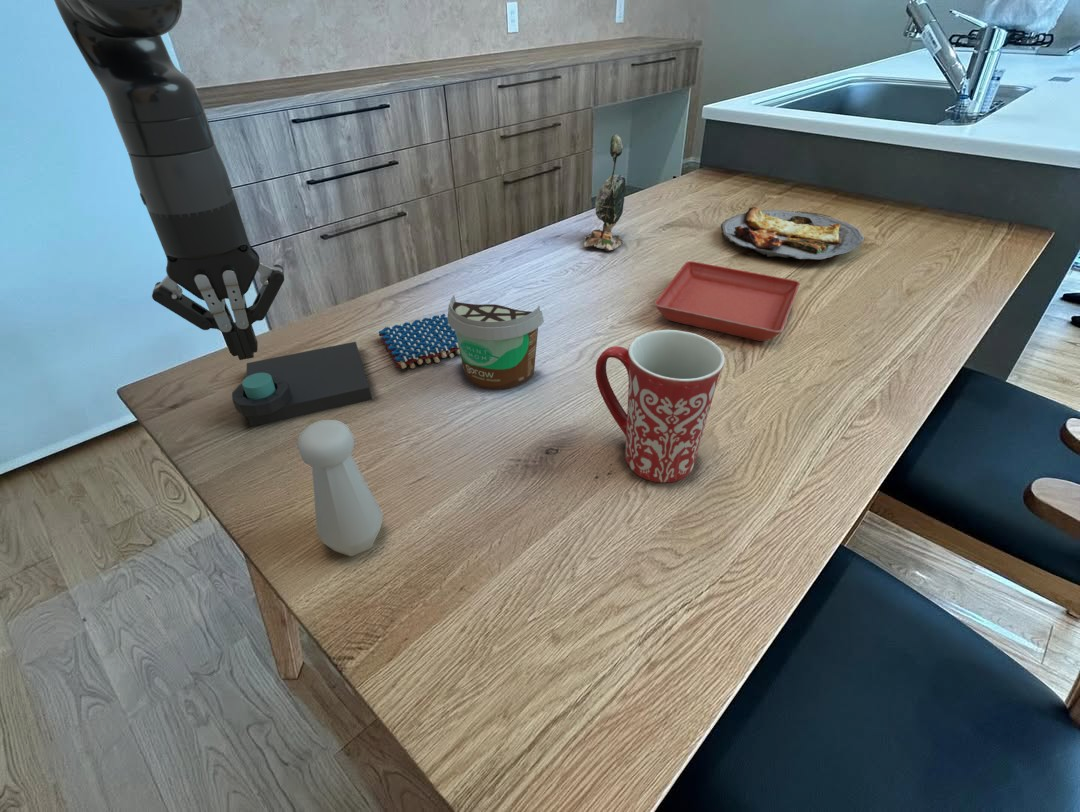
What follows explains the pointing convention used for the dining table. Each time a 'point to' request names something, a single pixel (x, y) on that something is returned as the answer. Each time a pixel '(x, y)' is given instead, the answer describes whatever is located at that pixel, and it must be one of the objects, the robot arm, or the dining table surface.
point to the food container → (495, 343)
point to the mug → (663, 399)
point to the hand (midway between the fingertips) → (246, 355)
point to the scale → (306, 384)
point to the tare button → (258, 386)
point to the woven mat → (420, 341)
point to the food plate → (791, 233)
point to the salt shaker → (339, 489)
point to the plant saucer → (728, 300)
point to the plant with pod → (609, 205)
